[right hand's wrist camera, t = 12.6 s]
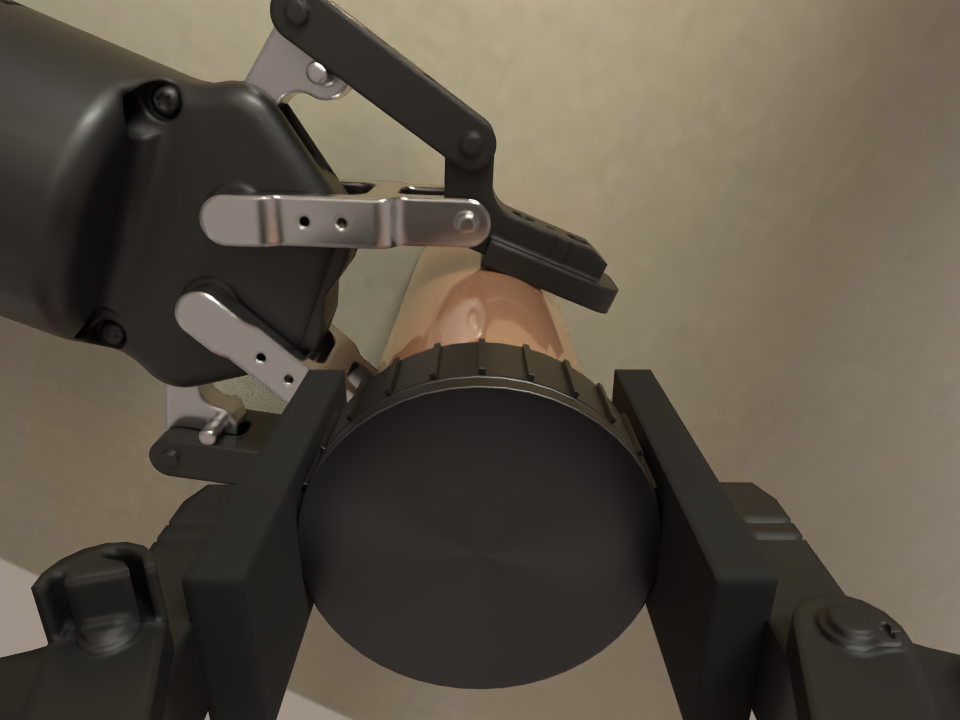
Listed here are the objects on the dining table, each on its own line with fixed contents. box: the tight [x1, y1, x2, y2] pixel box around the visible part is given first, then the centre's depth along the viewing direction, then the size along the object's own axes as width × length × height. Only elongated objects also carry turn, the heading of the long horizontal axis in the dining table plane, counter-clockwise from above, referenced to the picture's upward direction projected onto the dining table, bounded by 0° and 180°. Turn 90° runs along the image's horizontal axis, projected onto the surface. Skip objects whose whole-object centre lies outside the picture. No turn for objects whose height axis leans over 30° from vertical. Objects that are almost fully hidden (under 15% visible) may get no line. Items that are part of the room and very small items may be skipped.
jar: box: [376, 246, 584, 375], centre depth 18 cm, size 5×5×15 cm
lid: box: [297, 338, 663, 689], centre depth 11 cm, size 6×6×2 cm
